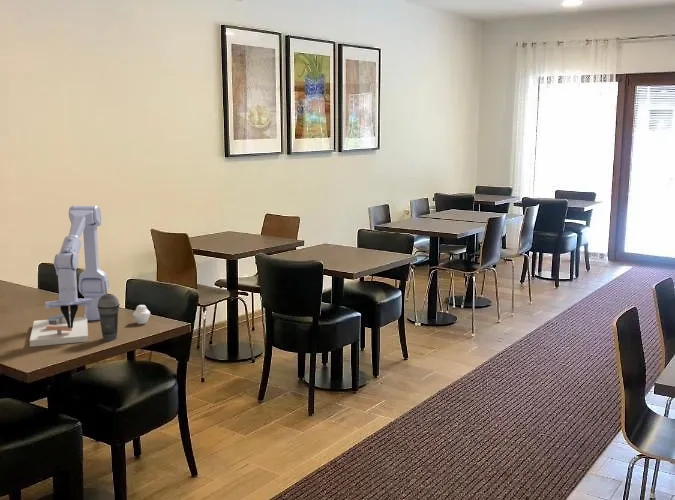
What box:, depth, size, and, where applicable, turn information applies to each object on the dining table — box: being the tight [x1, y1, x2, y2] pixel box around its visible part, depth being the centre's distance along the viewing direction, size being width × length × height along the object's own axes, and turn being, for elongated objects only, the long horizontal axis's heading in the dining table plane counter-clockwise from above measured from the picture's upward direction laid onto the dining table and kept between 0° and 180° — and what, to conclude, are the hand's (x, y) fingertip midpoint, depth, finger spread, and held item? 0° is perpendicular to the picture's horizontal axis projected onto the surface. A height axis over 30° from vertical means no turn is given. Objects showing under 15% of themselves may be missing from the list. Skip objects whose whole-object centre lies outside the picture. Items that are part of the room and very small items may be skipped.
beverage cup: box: [97, 281, 120, 342], centre depth 233 cm, size 7×7×20 cm
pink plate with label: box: [46, 325, 72, 331], centre depth 232 cm, size 8×3×1 cm, turn 111°
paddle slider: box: [49, 318, 57, 325], centre depth 239 cm, size 2×3×3 cm
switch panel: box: [29, 316, 89, 348], centre depth 240 cm, size 18×26×3 cm
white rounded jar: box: [132, 304, 151, 325], centre depth 254 cm, size 6×6×7 cm
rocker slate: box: [47, 311, 71, 321], centre depth 247 cm, size 8×3×1 cm, turn 110°
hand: (70, 327), depth 233 cm, fingers closed, pressing on pink plate with label
